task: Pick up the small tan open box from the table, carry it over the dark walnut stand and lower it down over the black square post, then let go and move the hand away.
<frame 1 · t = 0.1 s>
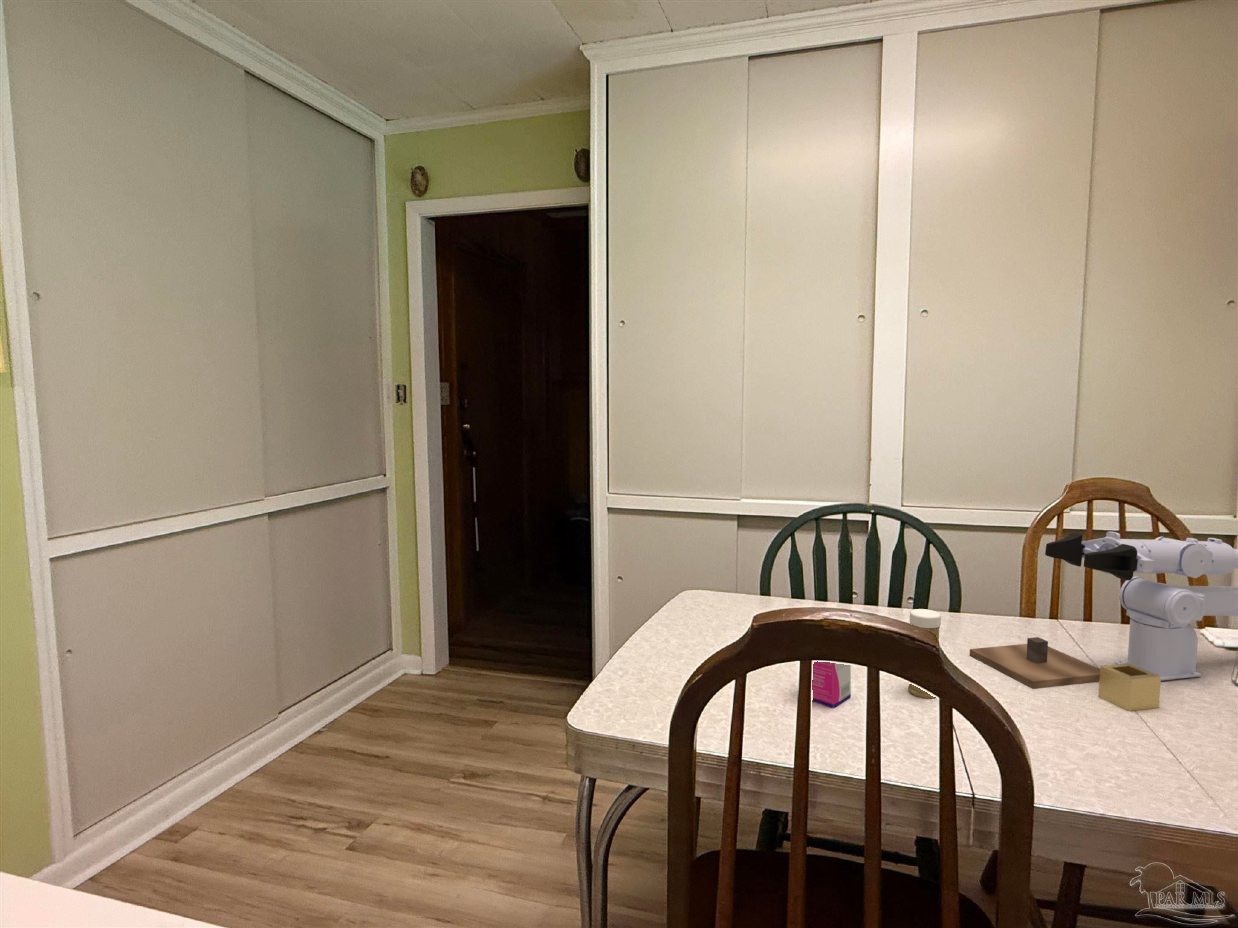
hand: (1065, 554, 115), 22 cm above the table, tool horizontal, fingers open, 7 cm apart
supplement box: (825, 698, 112), on the table
post stand: (1036, 667, 123), on the table
small tan open box: (1127, 701, 109), on the table
sprinkles bottle: (922, 694, 113), on the table
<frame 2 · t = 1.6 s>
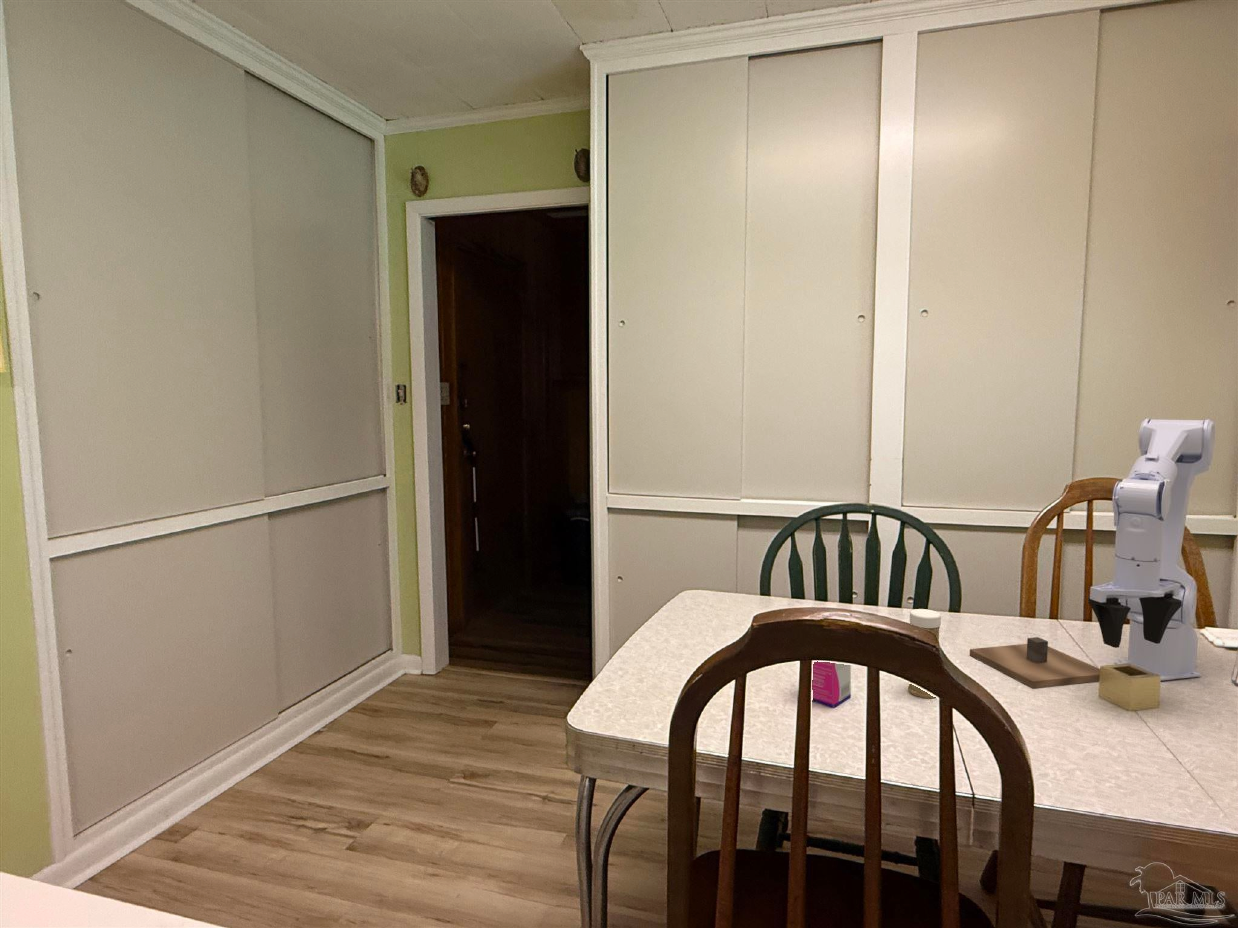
hand: (1131, 643, 108), 9 cm above the table, tool pointing down, fingers open, 7 cm apart
nothing on the table moved.
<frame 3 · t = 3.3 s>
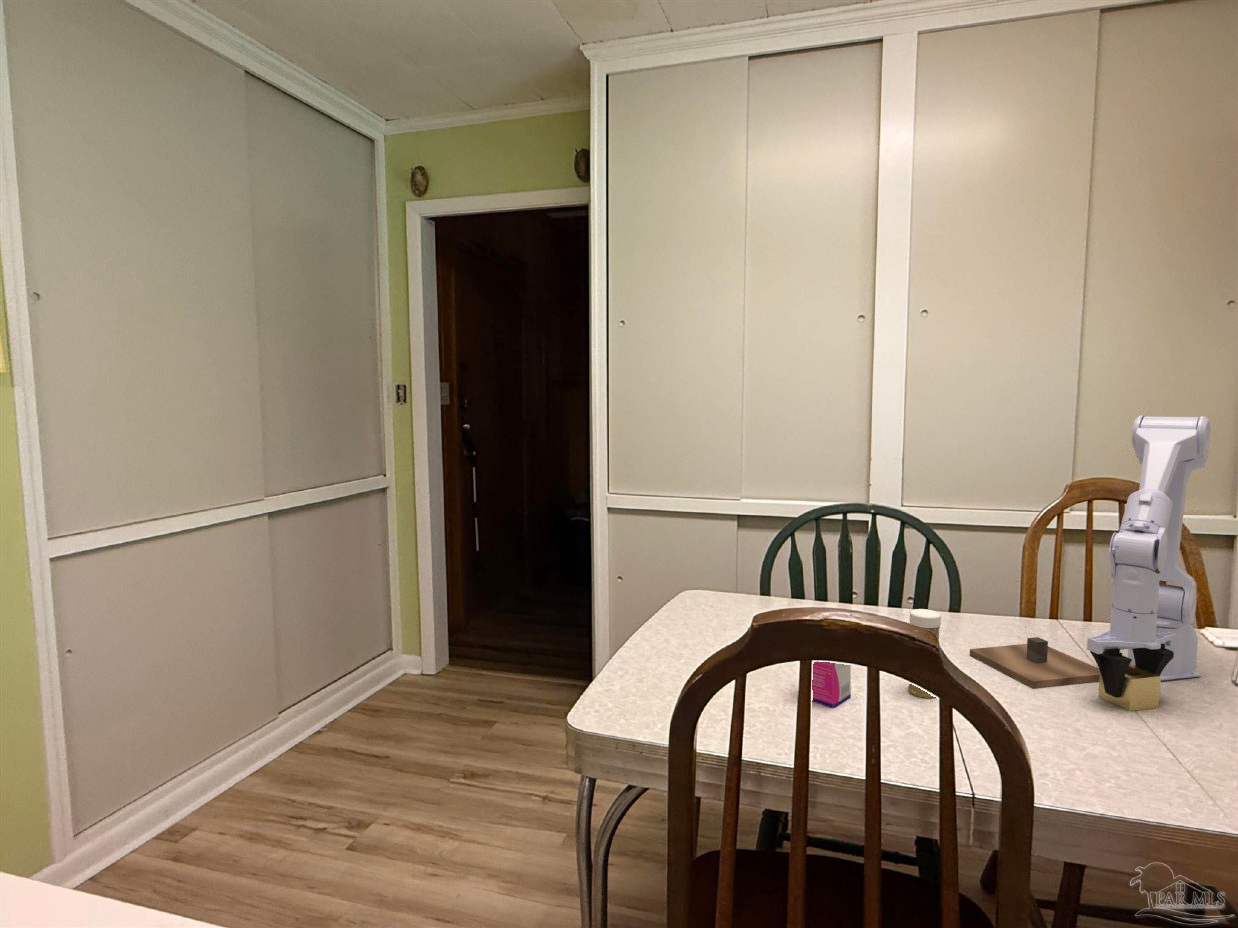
hand: (1128, 693, 109), 1 cm above the table, tool pointing down, fingers closed on small tan open box, 5 cm apart
small tan open box: (1128, 701, 109), on the table, touching gripper
everything else where it was.
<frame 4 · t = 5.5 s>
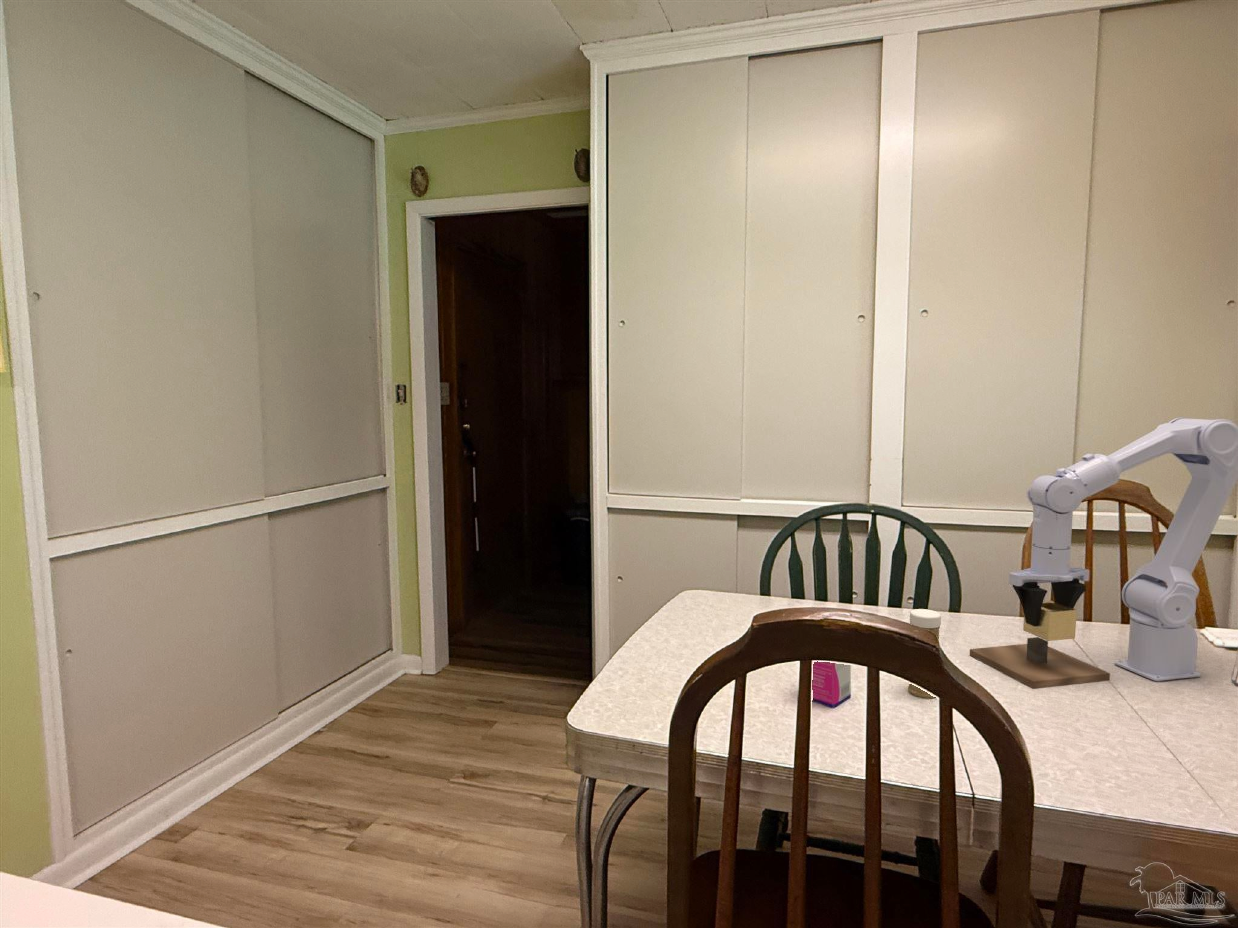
hand: (1046, 623, 121), 8 cm above the table, tool pointing down, fingers closed on small tan open box, 5 cm apart
small tan open box: (1048, 634, 121), point 7 cm above the table, touching gripper
everything else where it was.
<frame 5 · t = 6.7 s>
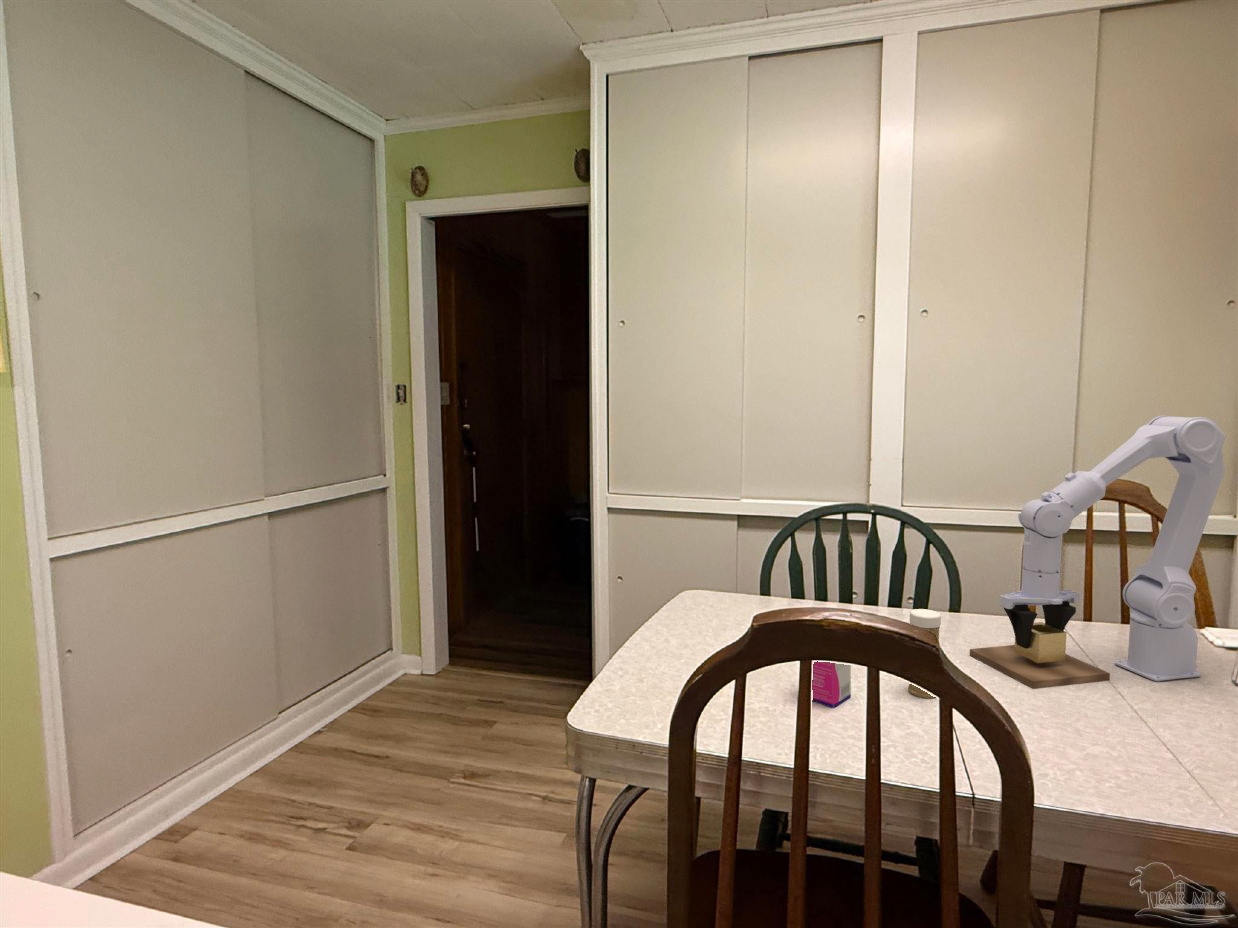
hand: (1037, 644, 123), 4 cm above the table, tool pointing down, fingers closed on small tan open box, 5 cm apart
small tan open box: (1039, 655, 123), point 2 cm above the table, touching gripper
everything else where it was.
when the fingers open (4 cm above the table, at t = 7.7 s): small tan open box stays where it is, resting on post stand.
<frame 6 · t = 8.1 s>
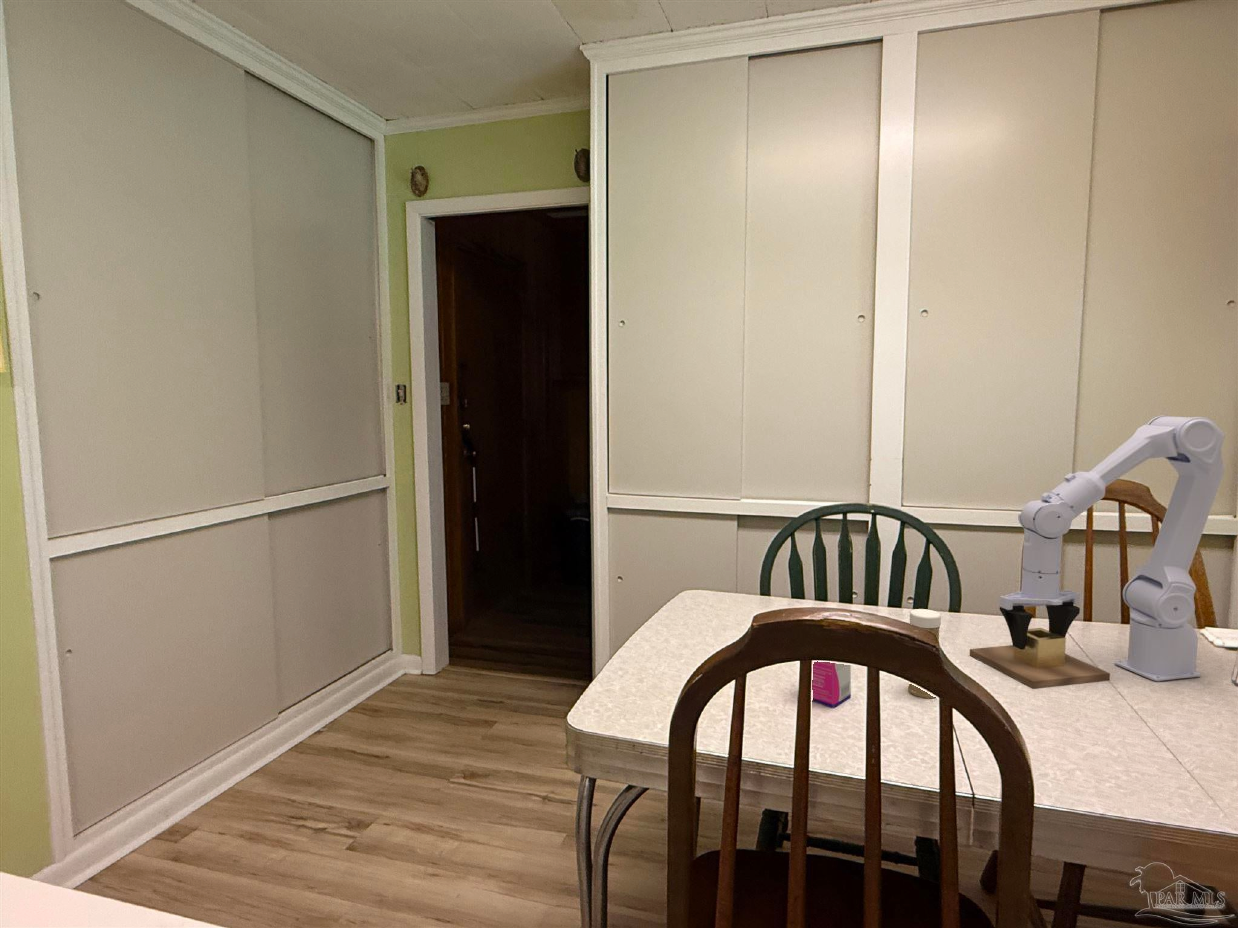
hand: (1037, 645, 123), 4 cm above the table, tool pointing down, fingers open, 7 cm apart
small tan open box: (1038, 661, 123), point 1 cm above the table, touching post stand
everything else where it was.
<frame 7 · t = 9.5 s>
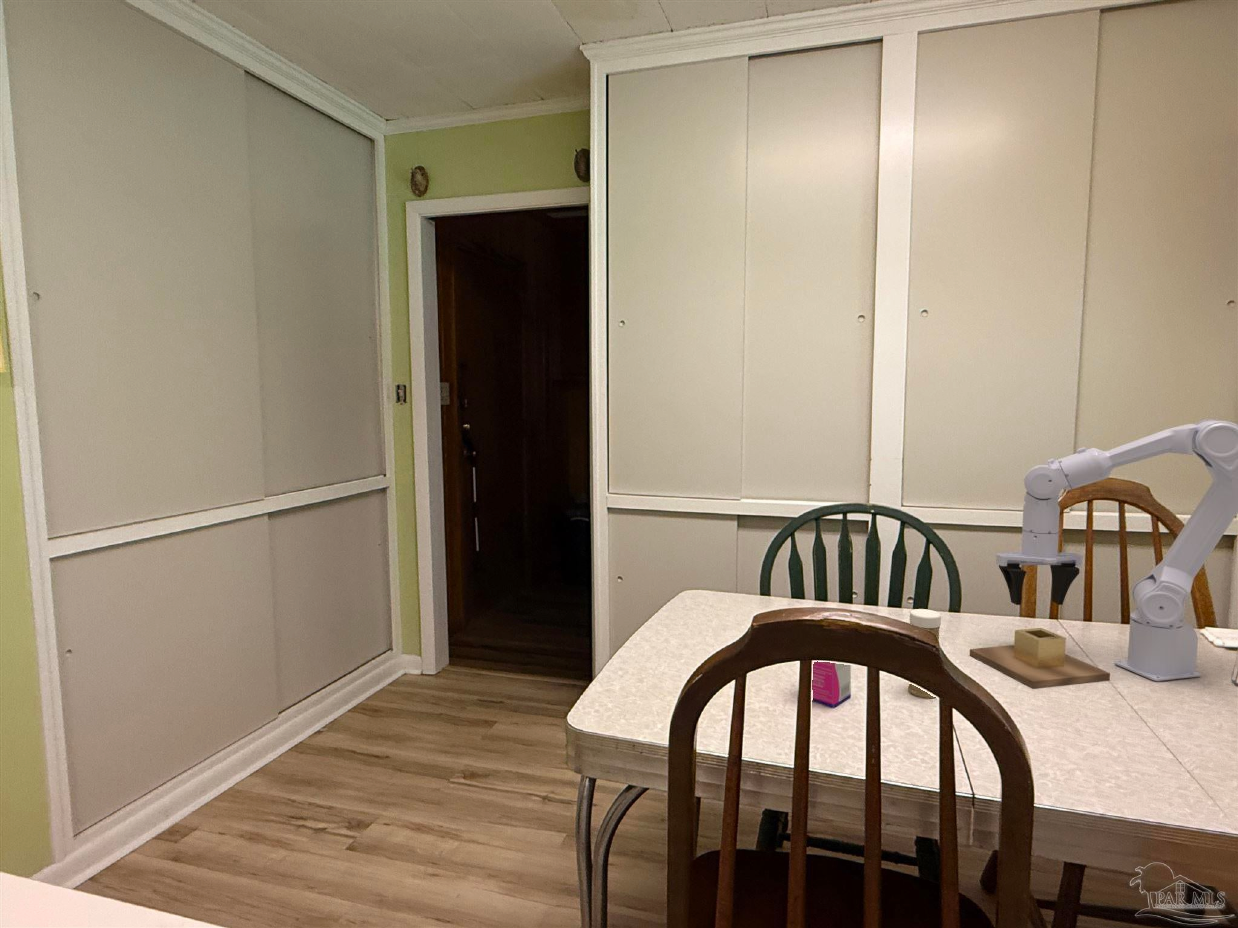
hand: (1036, 603, 129), 9 cm above the table, tool pointing down, fingers open, 7 cm apart
nothing on the table moved.
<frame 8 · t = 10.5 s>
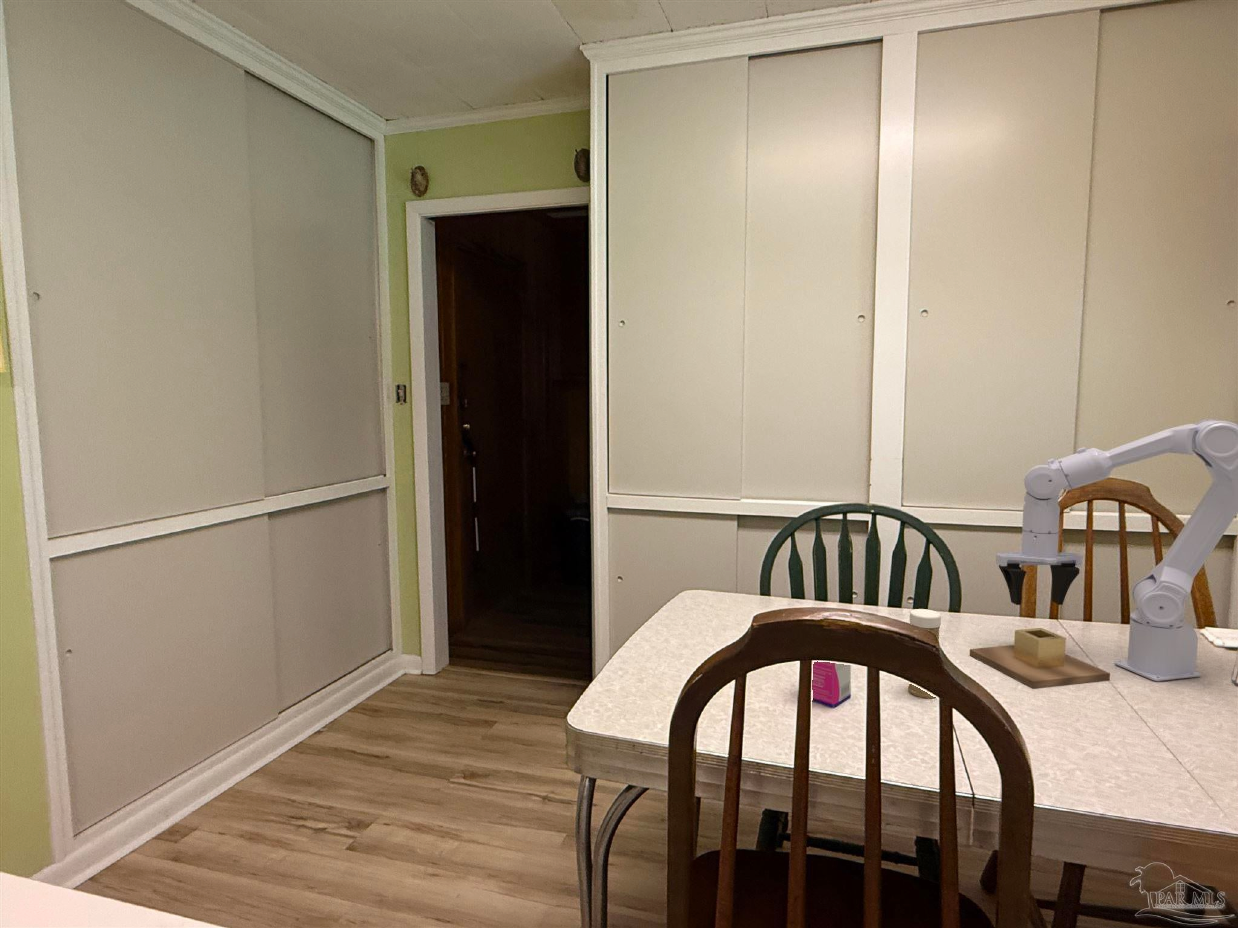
hand: (1036, 603, 129), 9 cm above the table, tool pointing down, fingers open, 7 cm apart
nothing on the table moved.
at the end: small tan open box 0.5 cm off-centre on the post stand, point 1.2 cm above the post stand's base; small tan open box tilted 0°; the gripper is holding nothing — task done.
